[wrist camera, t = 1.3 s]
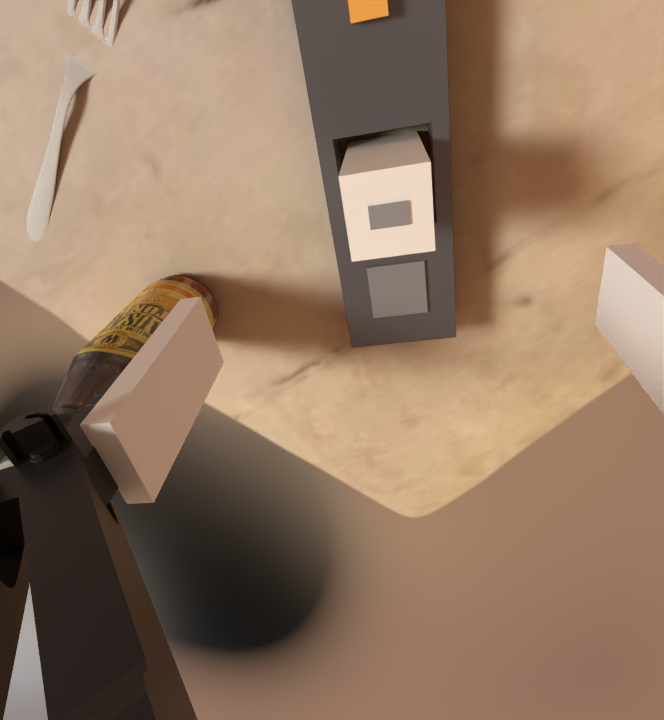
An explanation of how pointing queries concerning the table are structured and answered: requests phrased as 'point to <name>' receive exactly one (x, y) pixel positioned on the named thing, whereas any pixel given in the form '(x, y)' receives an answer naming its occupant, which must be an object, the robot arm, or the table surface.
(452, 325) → the power strip
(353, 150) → the block
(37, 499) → the robot arm
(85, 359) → the sauce bottle
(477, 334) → the table surface
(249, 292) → the table surface
